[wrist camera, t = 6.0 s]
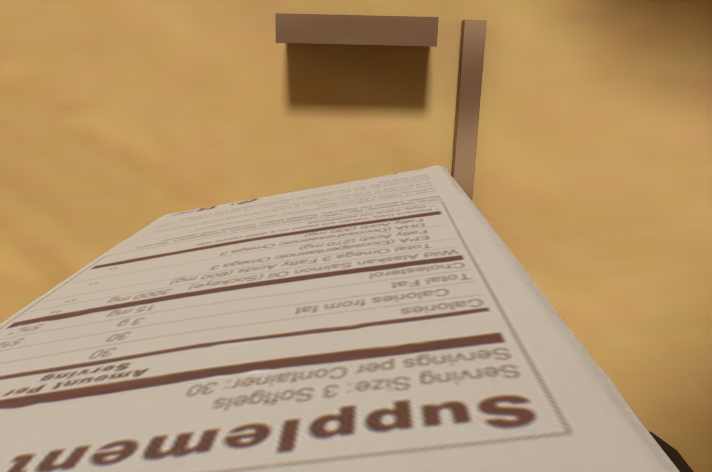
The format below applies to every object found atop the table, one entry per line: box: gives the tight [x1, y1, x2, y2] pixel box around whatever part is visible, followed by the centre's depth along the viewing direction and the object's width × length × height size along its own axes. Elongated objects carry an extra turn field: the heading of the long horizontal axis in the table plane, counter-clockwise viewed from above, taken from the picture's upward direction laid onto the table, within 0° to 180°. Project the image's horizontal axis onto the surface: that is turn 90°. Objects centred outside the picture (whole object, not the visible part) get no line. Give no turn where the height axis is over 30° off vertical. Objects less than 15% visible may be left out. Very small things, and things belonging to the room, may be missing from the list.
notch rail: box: [276, 14, 486, 201], centre depth 33 cm, size 32×10×4 cm, turn 179°
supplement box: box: [0, 165, 680, 472], centre depth 10 cm, size 7×7×13 cm
